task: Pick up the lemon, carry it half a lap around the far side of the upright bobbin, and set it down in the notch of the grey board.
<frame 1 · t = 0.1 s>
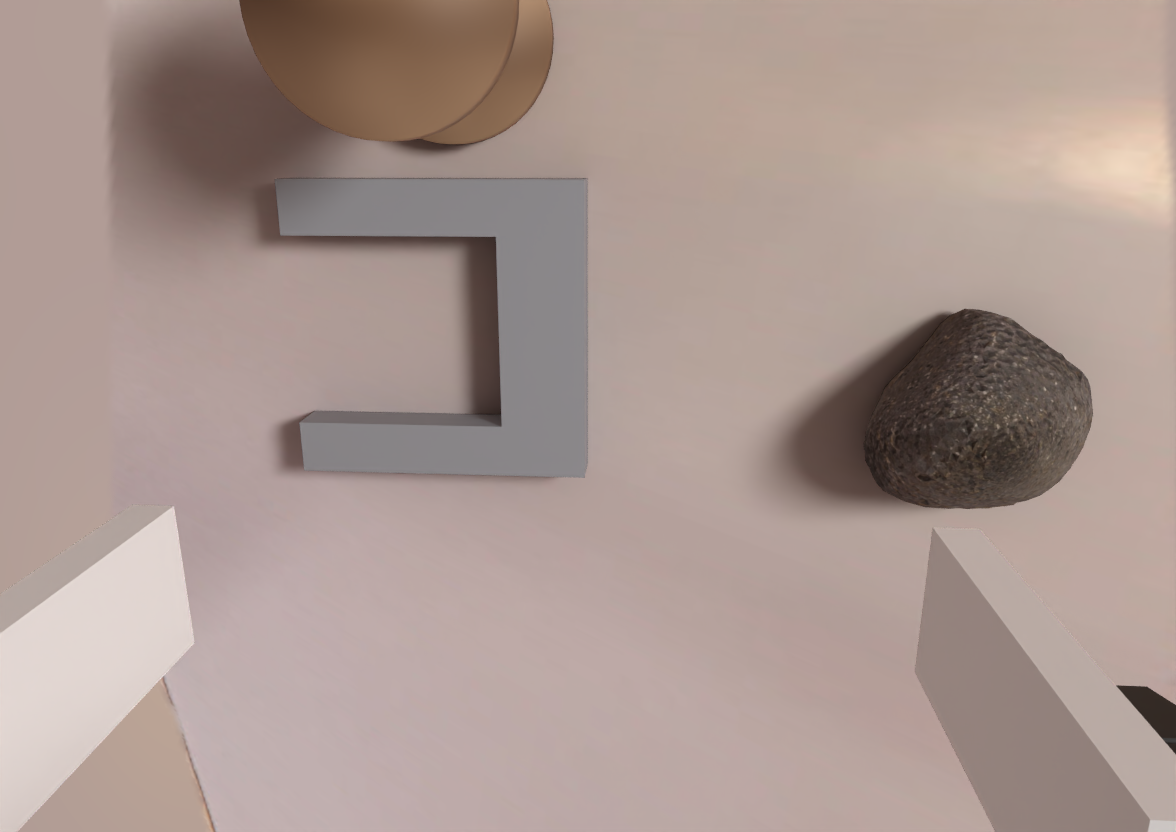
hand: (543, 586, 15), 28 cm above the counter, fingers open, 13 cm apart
bobbin: (453, 38, 39), on the counter
notch board: (445, 325, 43), on the counter
stone: (957, 412, 42), on the counter
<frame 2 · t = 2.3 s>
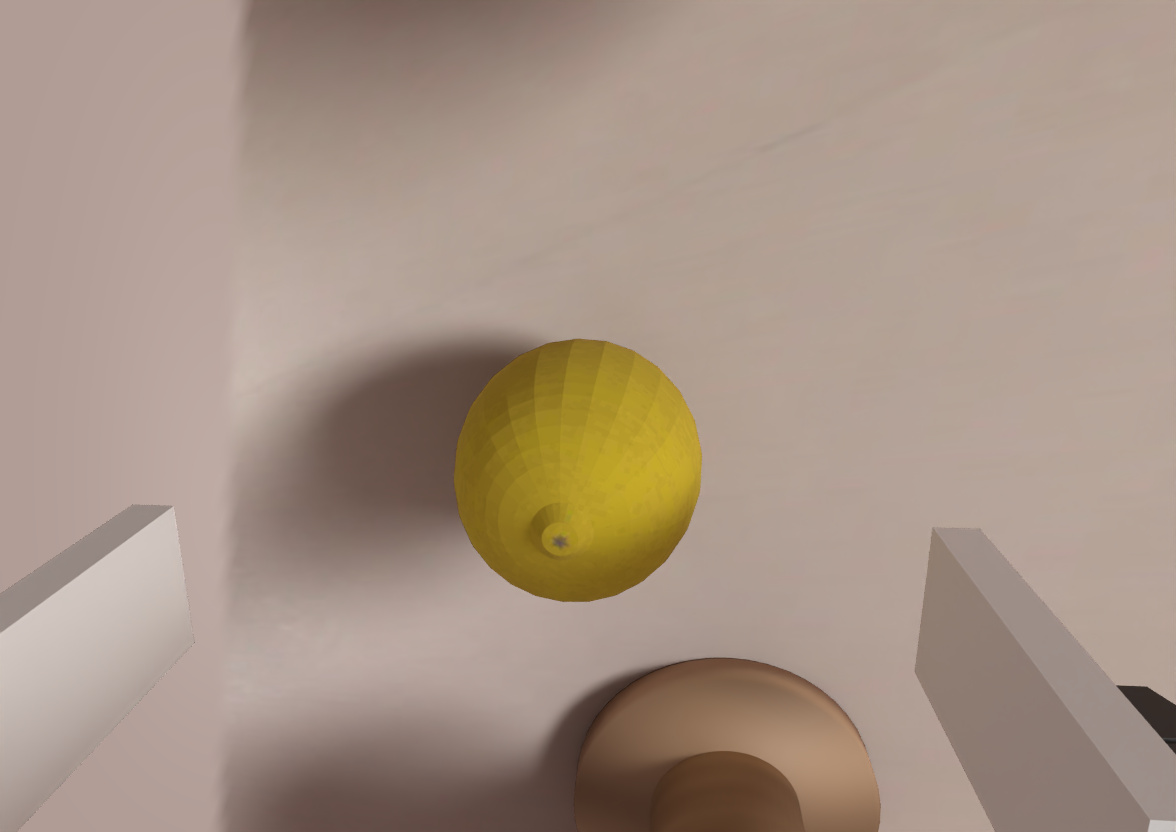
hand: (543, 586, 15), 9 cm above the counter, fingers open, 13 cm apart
bobbin: (722, 784, 27), on the counter
lemon: (593, 409, 24), on the counter
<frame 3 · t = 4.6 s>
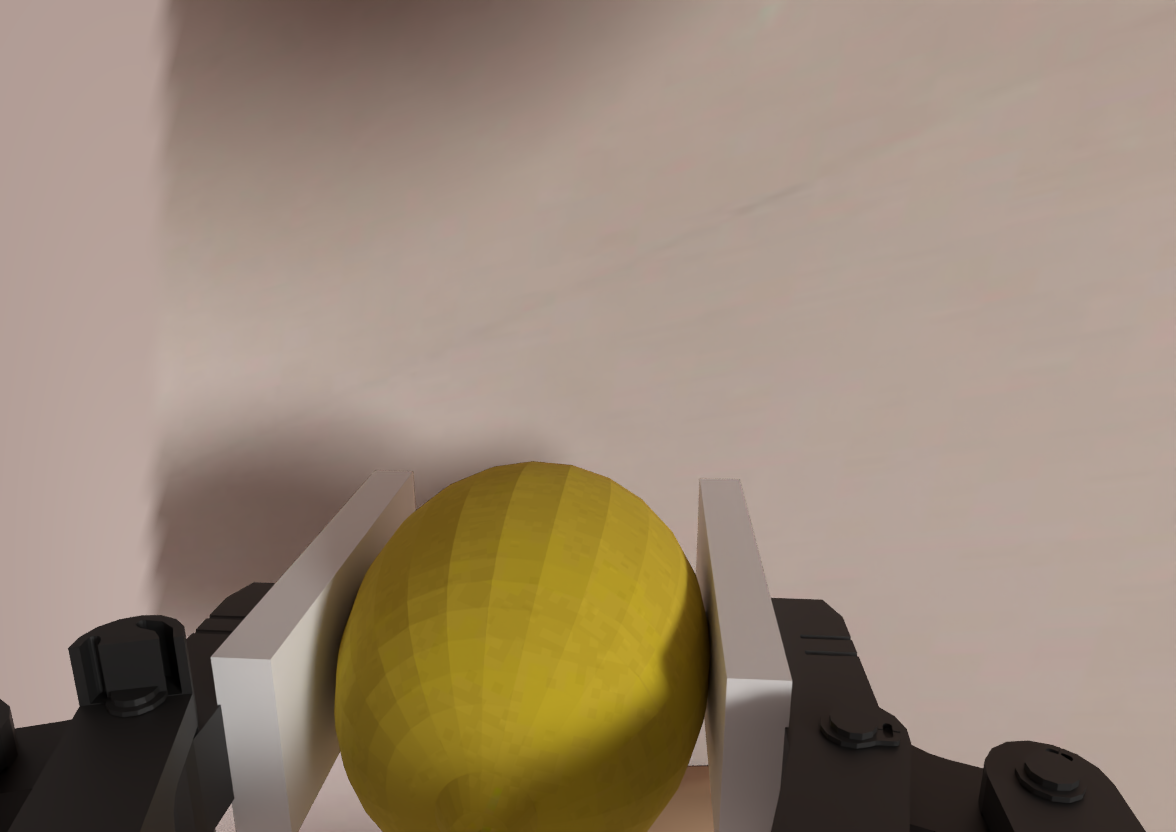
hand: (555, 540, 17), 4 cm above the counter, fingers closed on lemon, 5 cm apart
lemon: (560, 536, 17), point 4 cm above the counter, touching gripper
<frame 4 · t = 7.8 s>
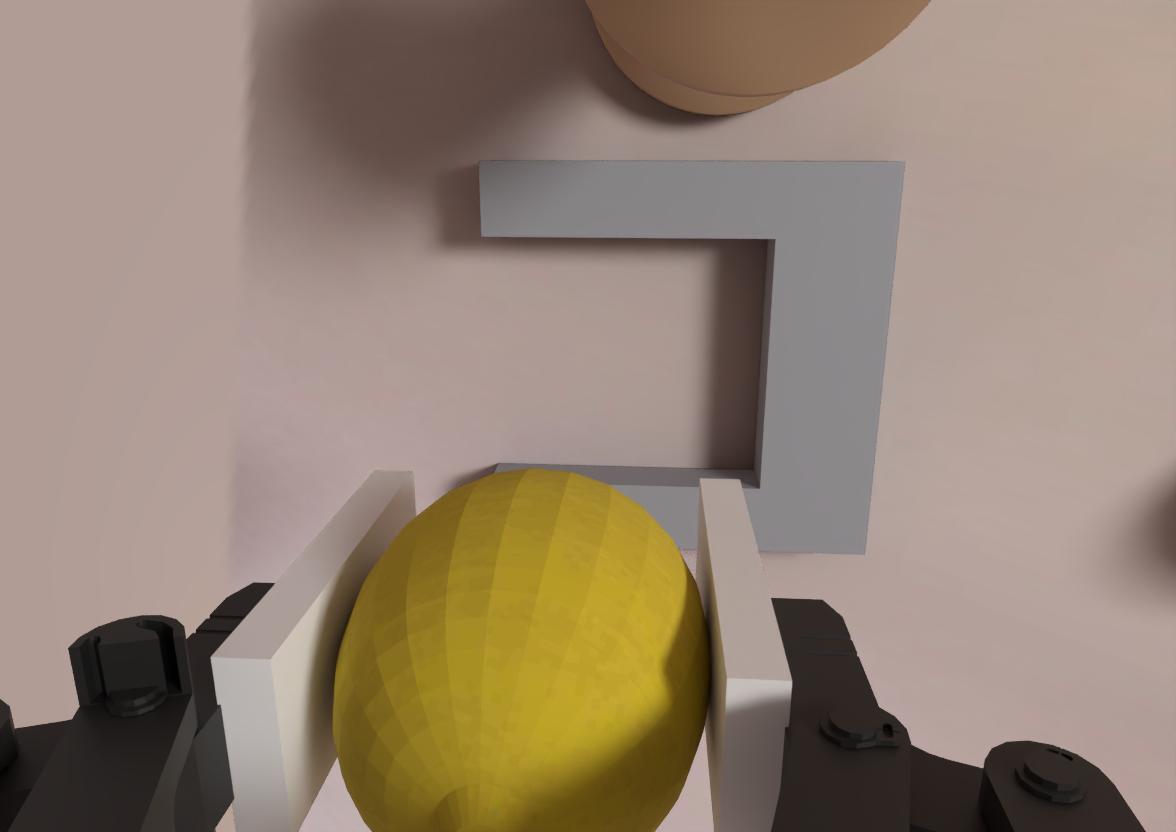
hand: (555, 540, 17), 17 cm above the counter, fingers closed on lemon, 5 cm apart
lemon: (560, 542, 17), point 16 cm above the counter, touching gripper
notch board: (679, 355, 33), on the counter
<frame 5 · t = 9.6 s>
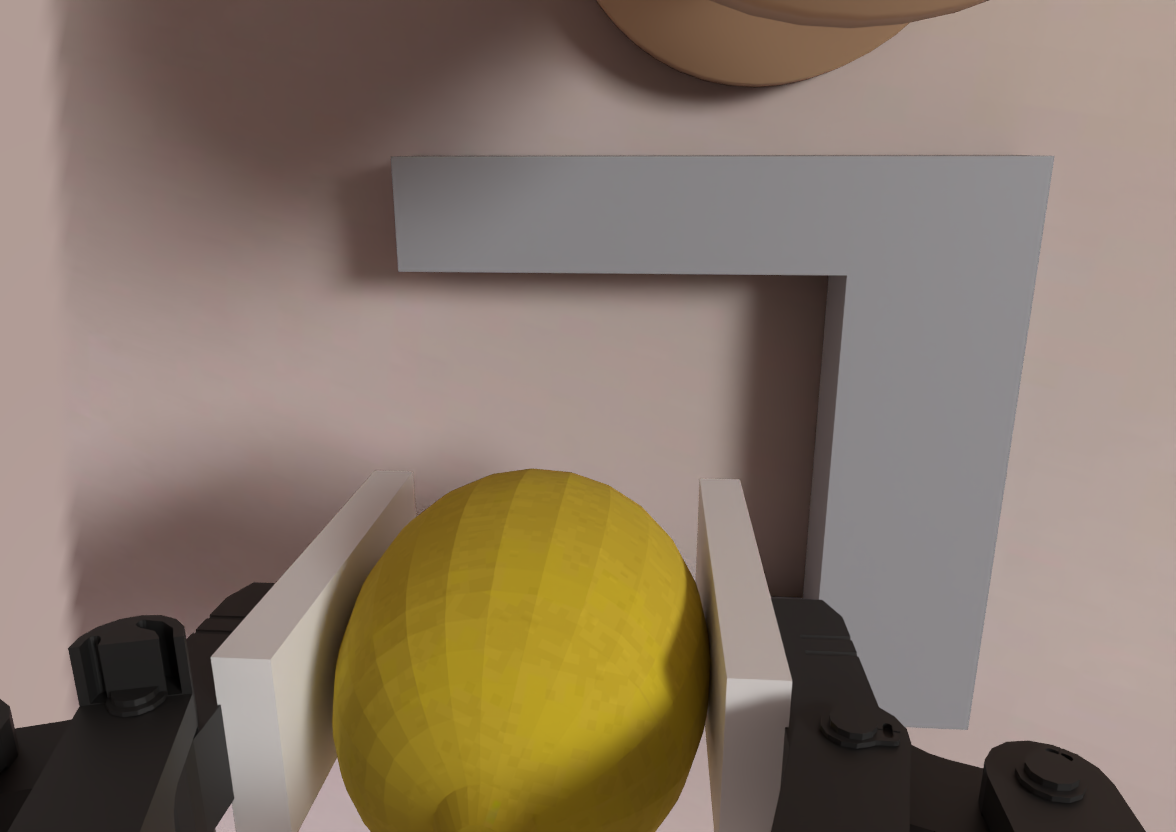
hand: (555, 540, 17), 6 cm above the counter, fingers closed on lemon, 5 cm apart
lemon: (560, 543, 17), point 6 cm above the counter, touching gripper
notch board: (697, 438, 22), on the counter
when the fingers open (1 cm above the counter, at t = 10.9 s): lemon stays where it is, on the counter.
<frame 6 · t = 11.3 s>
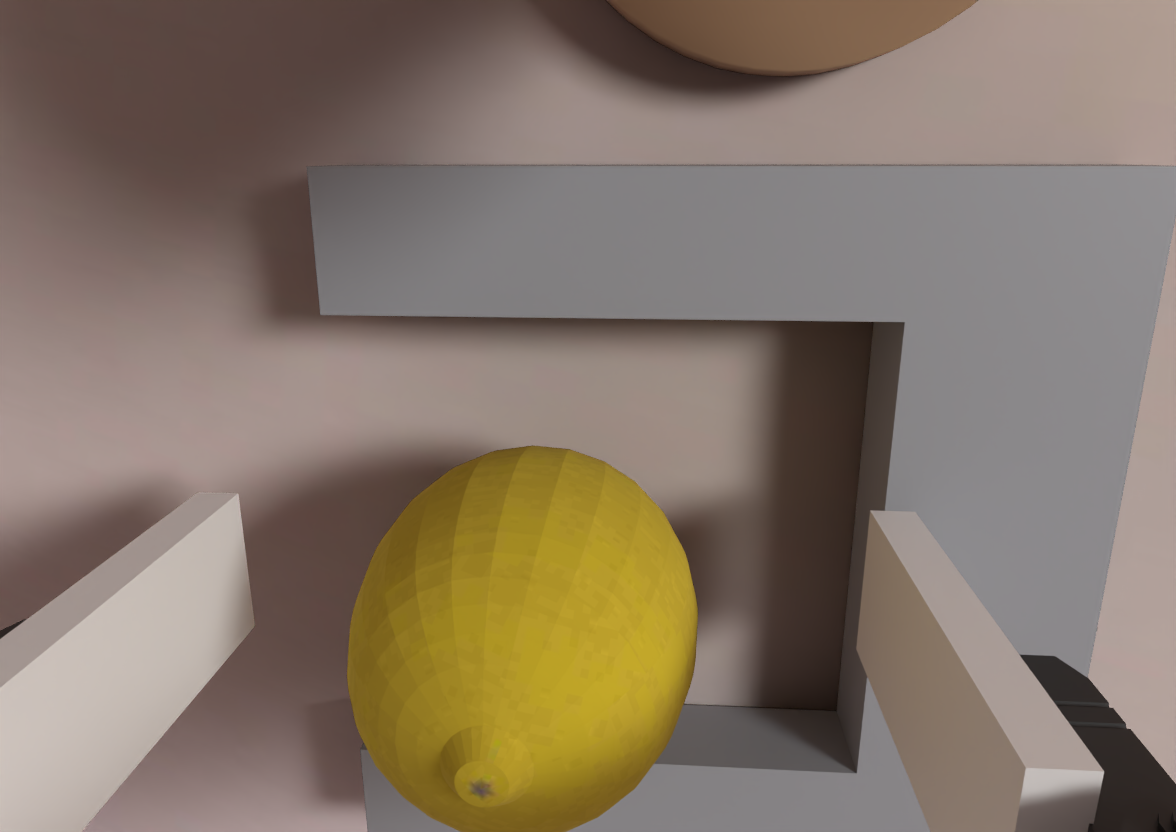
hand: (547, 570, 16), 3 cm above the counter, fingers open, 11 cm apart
lemon: (559, 519, 18), on the counter
notch board: (706, 517, 18), on the counter
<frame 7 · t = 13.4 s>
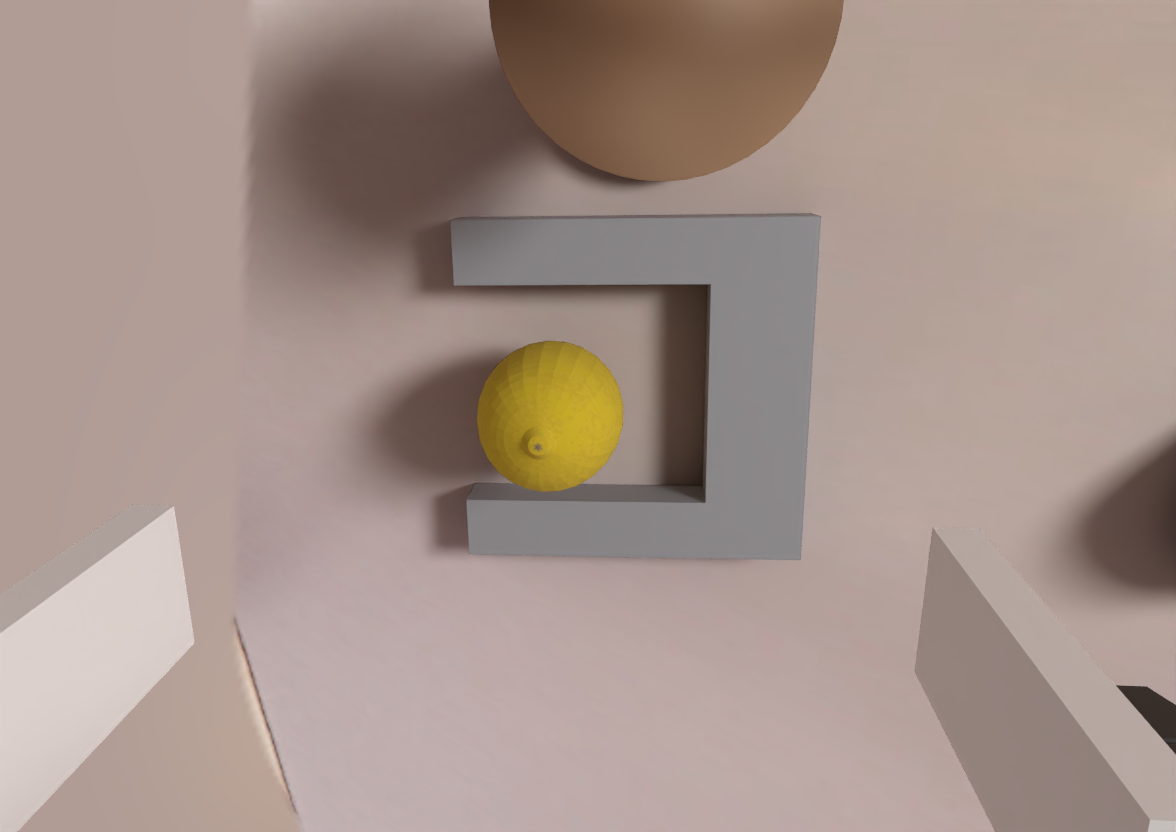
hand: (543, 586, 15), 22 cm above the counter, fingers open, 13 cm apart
bobbin: (660, 53, 33), on the counter
lemon: (562, 388, 37), on the counter
notch board: (633, 385, 37), on the counter
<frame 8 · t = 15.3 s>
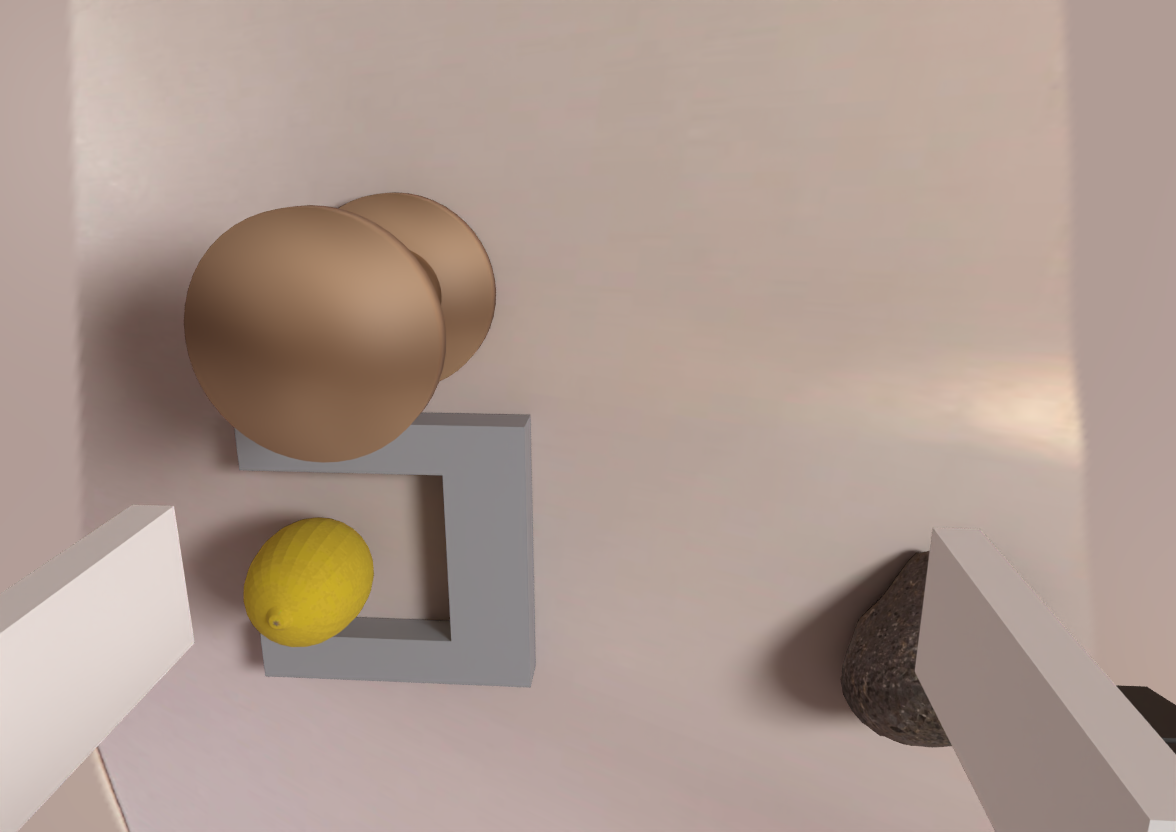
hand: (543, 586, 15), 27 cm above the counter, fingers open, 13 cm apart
bobbin: (401, 290, 41), on the counter
lemon: (342, 542, 45), on the counter
notch board: (398, 541, 45), on the counter
stone: (929, 635, 45), on the counter
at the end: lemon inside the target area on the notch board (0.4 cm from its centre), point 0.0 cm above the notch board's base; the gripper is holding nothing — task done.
